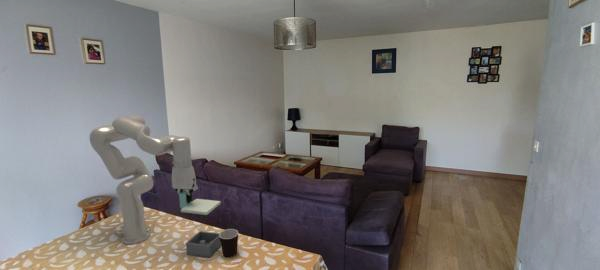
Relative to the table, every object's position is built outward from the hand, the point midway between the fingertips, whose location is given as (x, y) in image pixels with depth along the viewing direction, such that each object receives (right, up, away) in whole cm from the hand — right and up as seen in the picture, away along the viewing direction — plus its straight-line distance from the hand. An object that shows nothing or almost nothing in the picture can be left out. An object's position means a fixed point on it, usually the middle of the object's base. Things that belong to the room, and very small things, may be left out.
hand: (186, 201), depth 130 cm
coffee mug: (+21, -24, +1) cm, 32 cm away
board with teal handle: (+6, -2, -1) cm, 7 cm away
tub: (+8, -24, +2) cm, 25 cm away
